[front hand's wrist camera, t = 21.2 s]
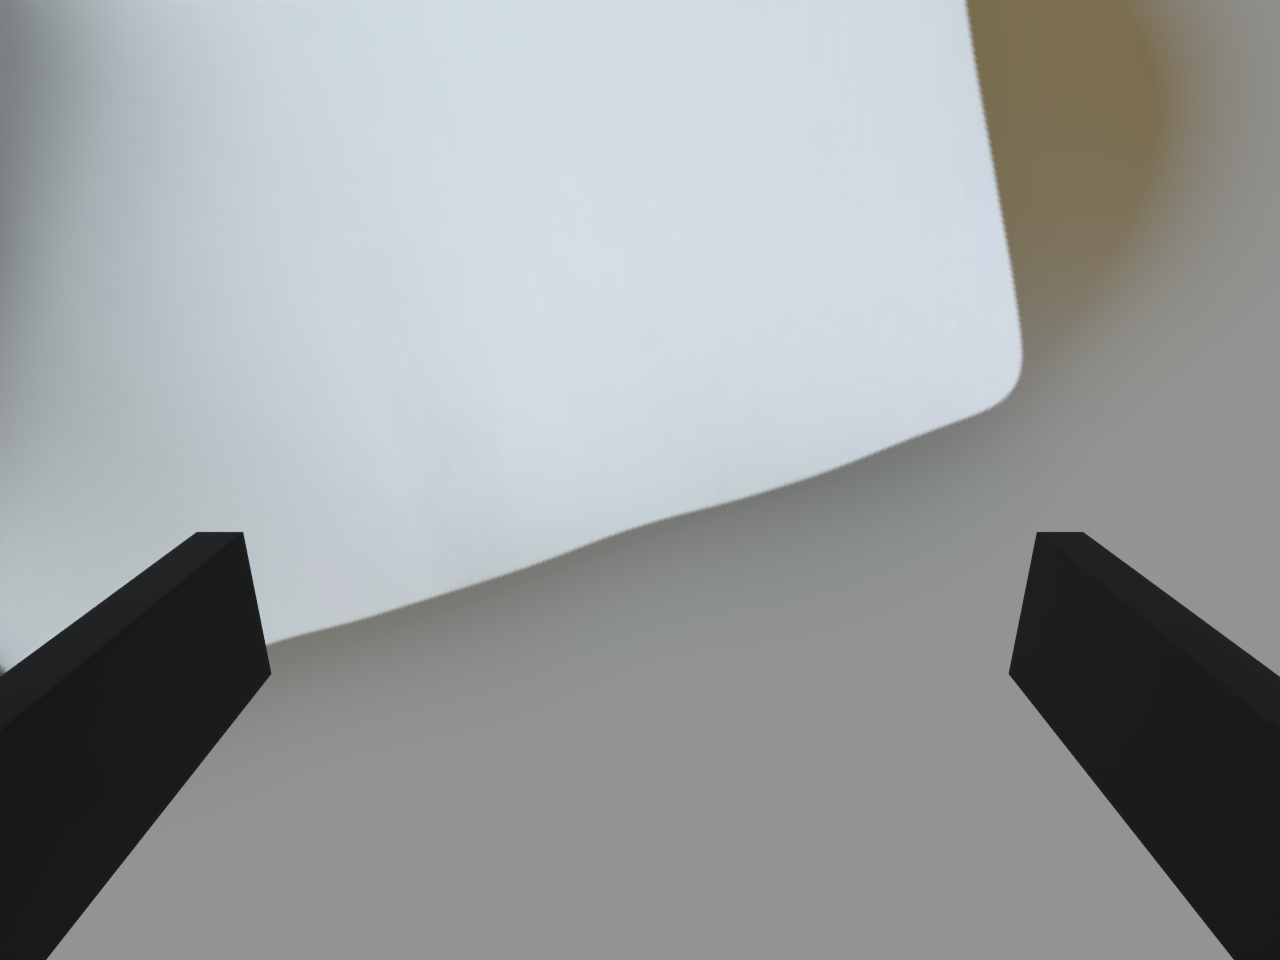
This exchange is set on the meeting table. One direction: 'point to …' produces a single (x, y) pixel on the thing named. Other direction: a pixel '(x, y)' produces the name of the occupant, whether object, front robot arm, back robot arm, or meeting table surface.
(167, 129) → the meeting table surface
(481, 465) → the meeting table surface
